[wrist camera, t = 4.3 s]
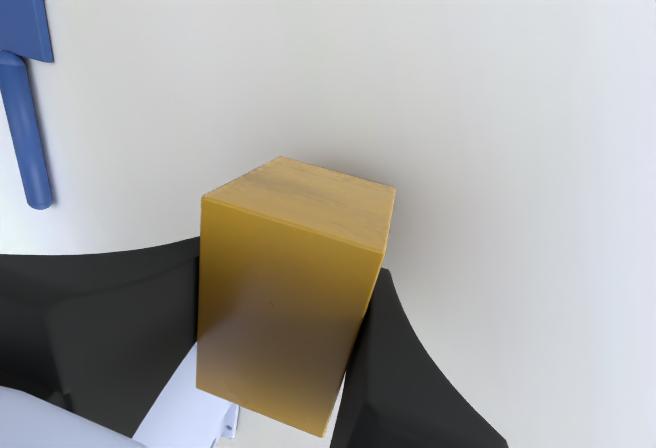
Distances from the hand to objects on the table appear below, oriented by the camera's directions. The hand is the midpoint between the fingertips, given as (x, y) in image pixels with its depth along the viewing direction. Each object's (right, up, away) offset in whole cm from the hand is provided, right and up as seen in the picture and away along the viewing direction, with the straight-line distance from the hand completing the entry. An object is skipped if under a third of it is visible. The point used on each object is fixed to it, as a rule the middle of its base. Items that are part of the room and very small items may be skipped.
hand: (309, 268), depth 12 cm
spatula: (-16, +10, +6) cm, 20 cm away
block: (0, +1, +1) cm, 1 cm away
